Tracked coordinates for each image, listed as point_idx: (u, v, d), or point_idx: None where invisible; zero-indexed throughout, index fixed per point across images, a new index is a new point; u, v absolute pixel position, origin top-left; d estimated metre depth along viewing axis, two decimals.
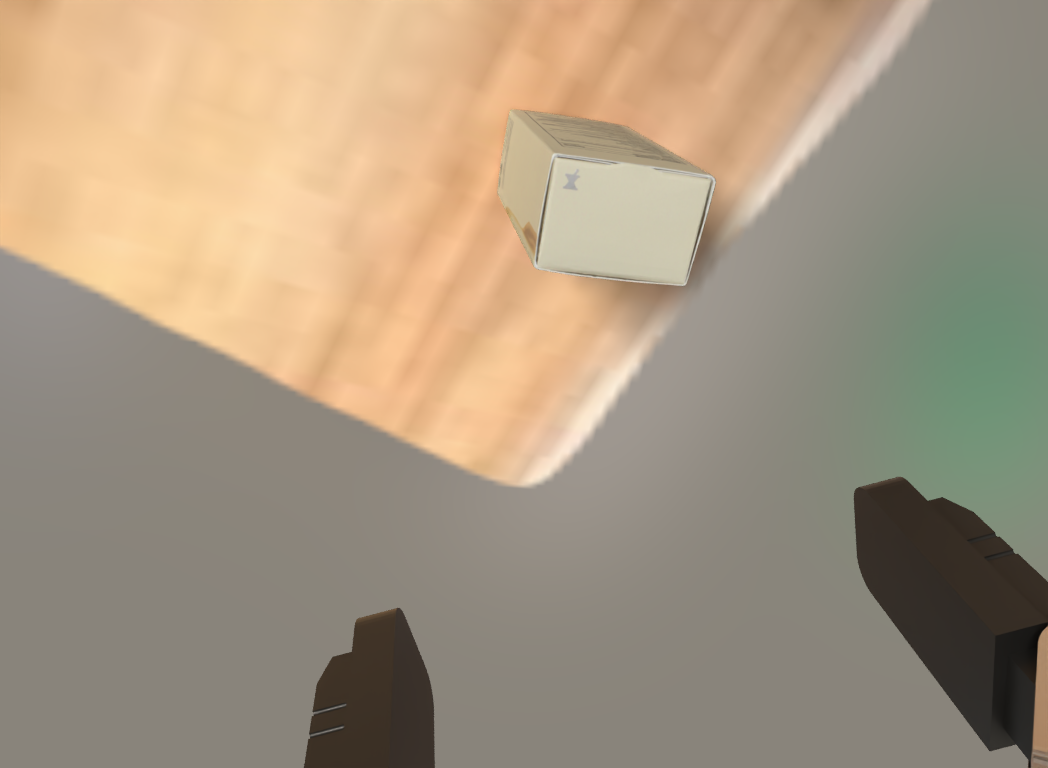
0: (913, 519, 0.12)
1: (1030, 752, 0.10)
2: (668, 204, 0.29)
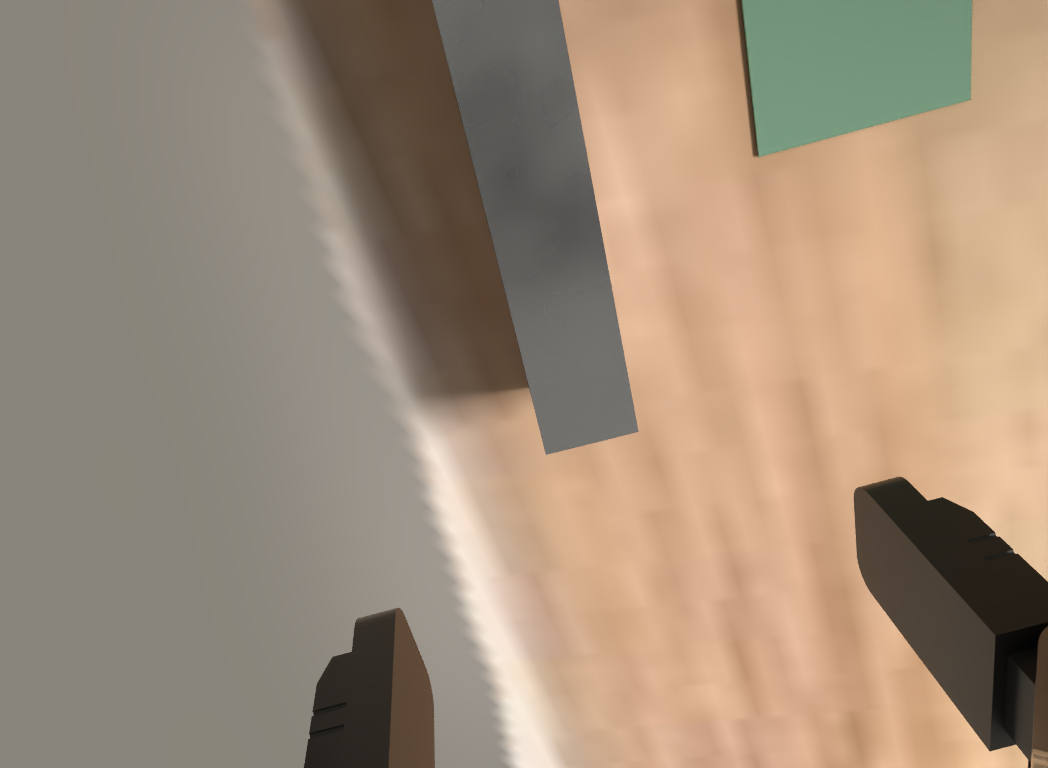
0: (913, 519, 0.12)
1: (1030, 752, 0.10)
2: None
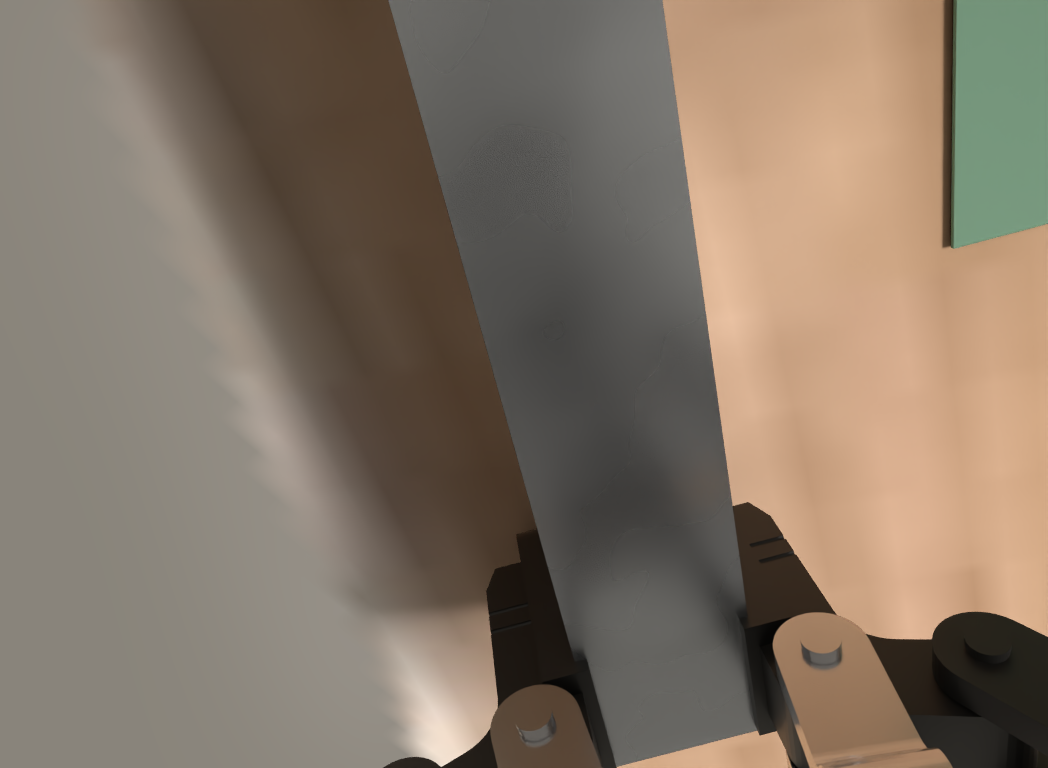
0: None
1: (791, 756, 0.11)
2: None
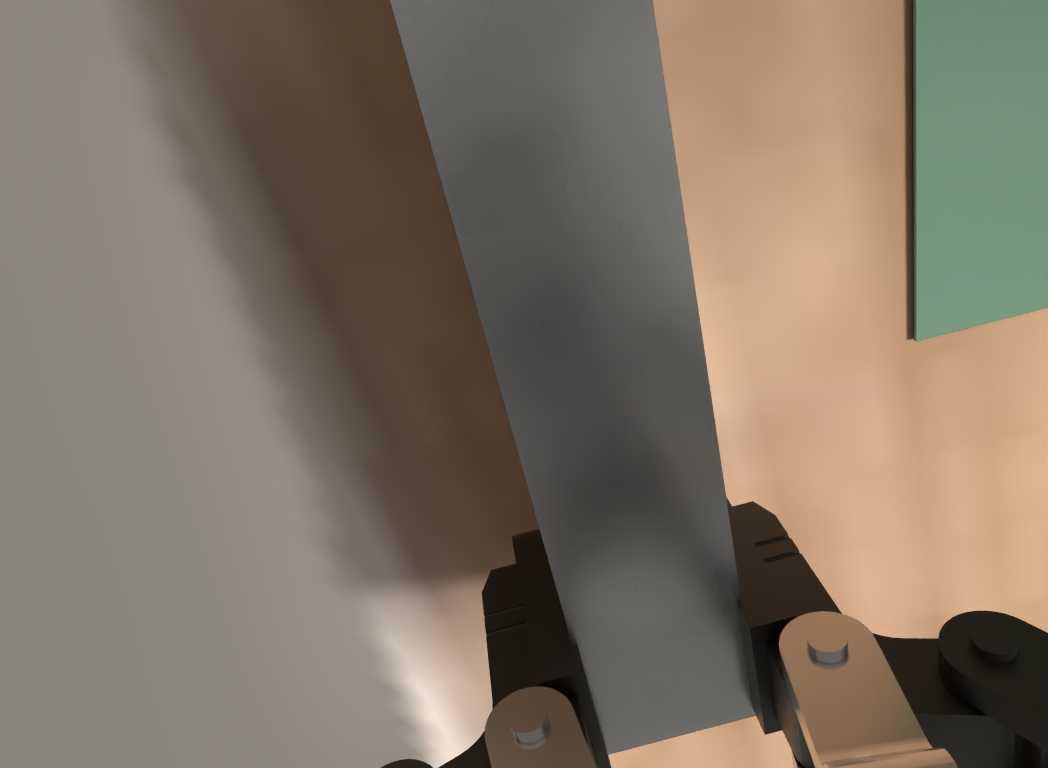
0: None
1: (796, 754, 0.11)
2: None
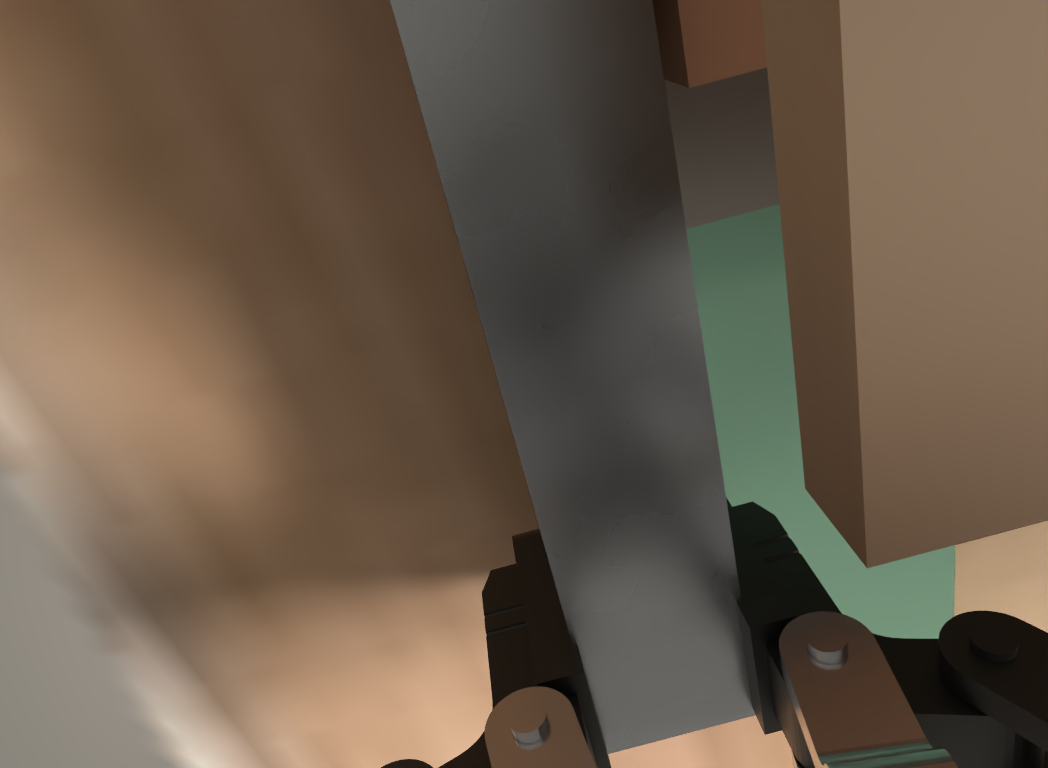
0: None
1: (796, 754, 0.11)
2: None
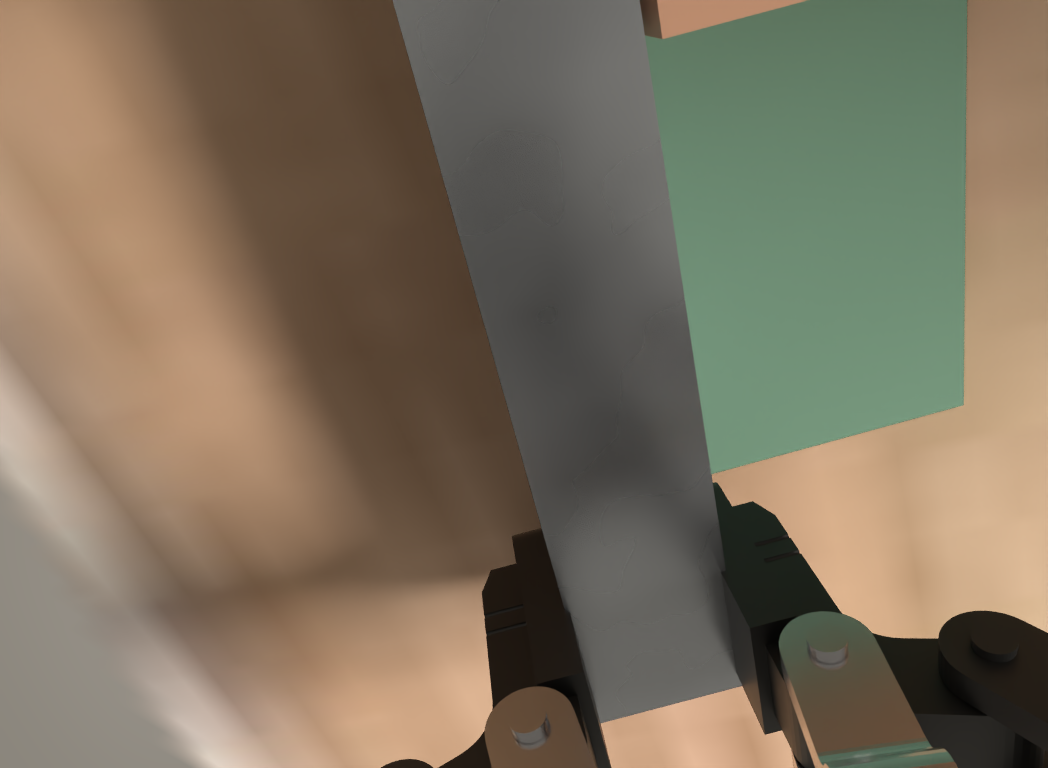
0: None
1: (796, 754, 0.11)
2: None
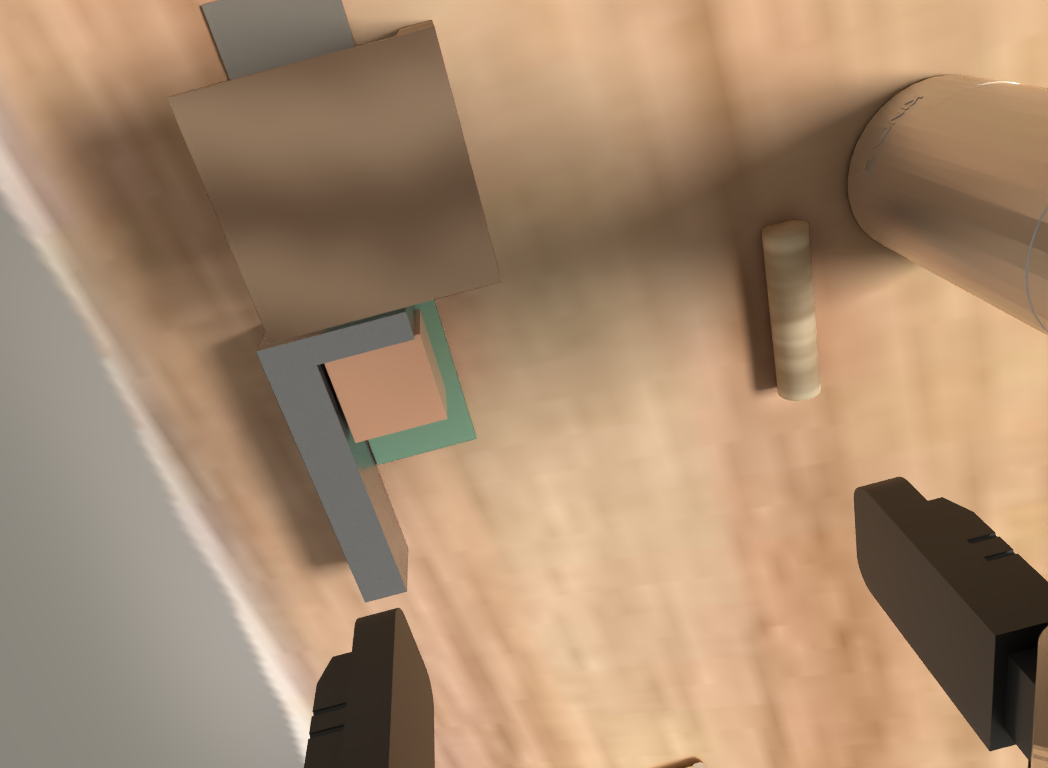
0: (913, 519, 0.12)
1: (1030, 752, 0.10)
2: None
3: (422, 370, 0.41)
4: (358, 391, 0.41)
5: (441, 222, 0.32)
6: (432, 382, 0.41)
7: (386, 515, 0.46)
